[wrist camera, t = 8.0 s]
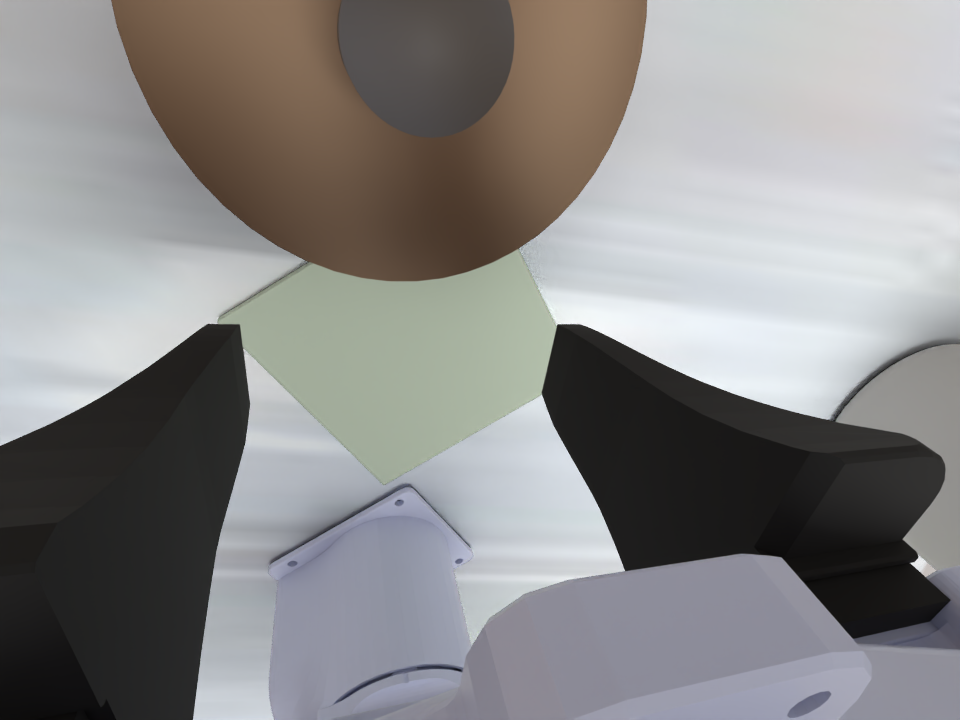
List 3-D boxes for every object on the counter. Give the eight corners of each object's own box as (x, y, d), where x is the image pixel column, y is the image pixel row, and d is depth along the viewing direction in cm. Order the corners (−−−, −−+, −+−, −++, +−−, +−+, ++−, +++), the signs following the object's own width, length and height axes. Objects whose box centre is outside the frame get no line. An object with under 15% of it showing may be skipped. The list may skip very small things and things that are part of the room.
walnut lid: (346, 341, 15) (350, 406, 12) (-49, -124, 8) (-217, -195, 6) (680, 139, 14) (760, 164, 11) (521, -534, 8) (621, -823, 5)
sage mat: (383, 480, 27) (383, 485, 27) (219, 317, 21) (217, 322, 20) (576, 368, 27) (579, 372, 26) (473, 160, 20) (475, 163, 19)
